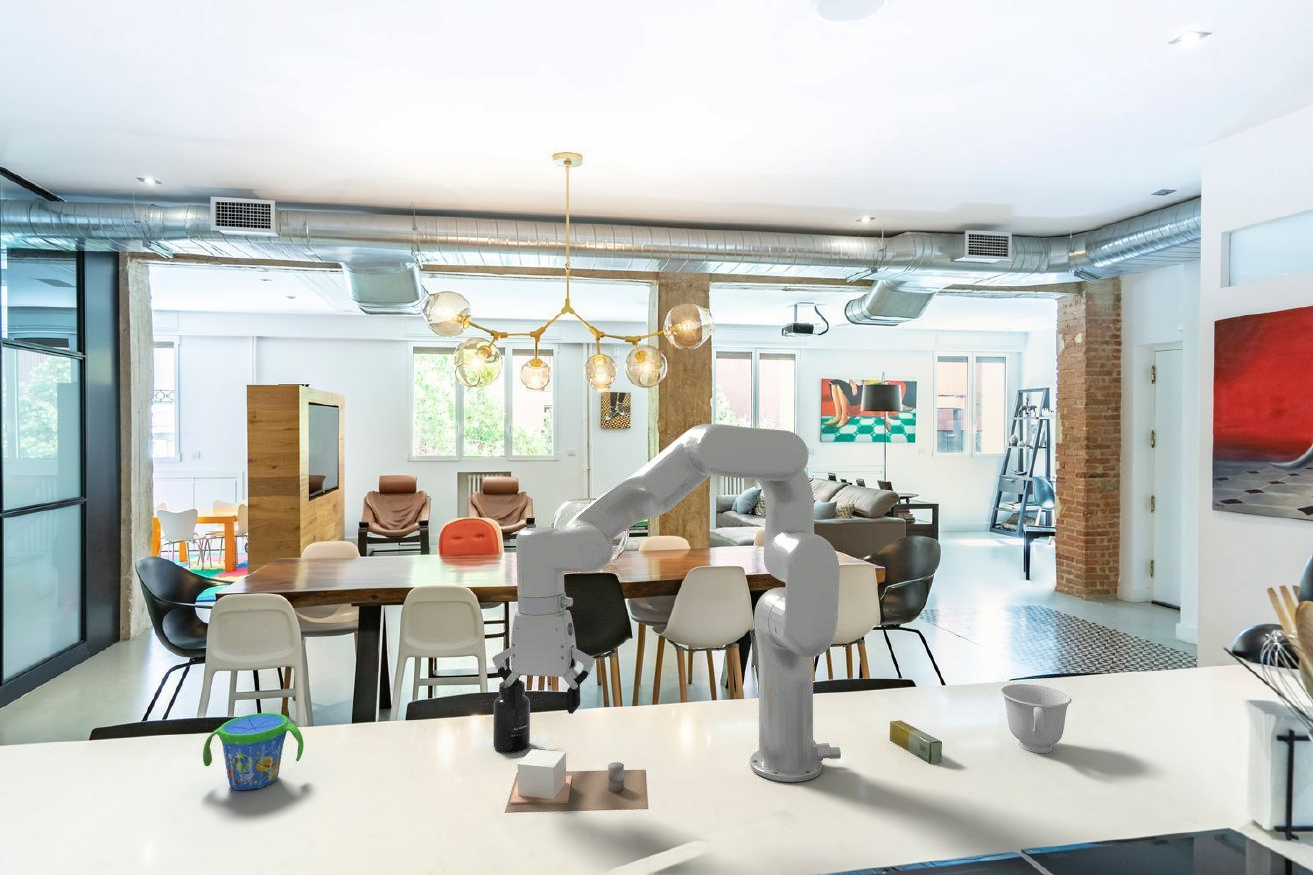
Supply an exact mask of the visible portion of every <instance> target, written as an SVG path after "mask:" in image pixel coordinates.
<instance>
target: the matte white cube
mask: <svg viewBox="0 0 1313 875" xmlns="http://www.w3.org/2000/svg"><path fill="white" fill-rule="evenodd" d="M566 771H567V751H557V750H555V751H554V750H543V749H537V748H536V749H532V748H531V750H530V751H529V752H527V753H526V754H525V756H524V757H523V758H522V759H521V760H520V761H519V762H518V763H517V772H518V795H520V796H529V797H539V798H549V799H554V798H555V796H556V795H557V794H558V792H559V791H560V790H561V789H562V787H563V786H564V785H565V783H566Z"/></svg>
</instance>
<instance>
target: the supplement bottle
mask: <svg viewBox="0 0 1313 875" xmlns="http://www.w3.org/2000/svg"><path fill="white" fill-rule="evenodd" d="M521 682H522V701H523V703H522V705H521V706H520V707H519V708H518V709H517V710H515V711H512V710H511V703H509V687H508V686H507V685H506V683H505V680H503V681H502V682H500V683H499V688H498V695H499V696H498V697H497V698H495V700H494V703H493V733H492V734H493V737H492V738H493V748H494V749H495V750H496V751H498V752H500V753H504V754H505V753H507V754H509V753H510V754H511V753H518V752H521V751H524V750H526V749H527V748H528V747H529V745H530V741H531V739H530V738H531V734H530V732H531V731H530V730H531V702H530V699H529V697H528V696H526V695H525V693H526V684H525V682H524V681H522V680H521Z"/></svg>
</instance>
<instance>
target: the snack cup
mask: <svg viewBox="0 0 1313 875" xmlns="http://www.w3.org/2000/svg"><path fill="white" fill-rule="evenodd" d="M287 732H290V733H291V735H292V736H293V738H294V739H295V741H297V744H298V745H297V753H296V754H297V755H296V759H295V761H296V762H299V761H300V759H302V758H301V757H302V755H303V752H304V745H305V744H304V740H303V736H302V733H301V731H300V729H299V728H298V727H297V725H295V724H293V723H292V722H290V721H289V719H288V717H287V716H285V715H284V714H280V713H277V712H265V713H264V712H261V713H254V714H253V713H252V714H247V715H243V716H239V717H236V718H232V719H230V720H228V721H226V722H224V723H223V724H221V725H220V727H218V728H217V729H214V731H213V732H212V733H210V734H209V735H208V737H207V738H206V740H205V741H204V742H205V743H204V747H203V750H202V751H203V752H202V760H203V765H204V766H205V767H210V766H211V764H212V762H213V757H212V756H213V754H212V750H211V743H212V740H213V737H214V736H216V735H218V736H219V739H220V741H221V744H222V750H223V758H224V762H225V763H224V764H225V769H226V774H227V779H228V784H229V786H230V787H231V788H232V789H233V790H235V791H244V790H245V791H247V790H252V789H262V788H263V787H264V786H268V785H270V784H271V783H273V782H274V781H276V780H278V777H279V774H280V767H281V762H282V760H281V759H282V754H283V749H284V744H285V740H286V735H287Z"/></svg>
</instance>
